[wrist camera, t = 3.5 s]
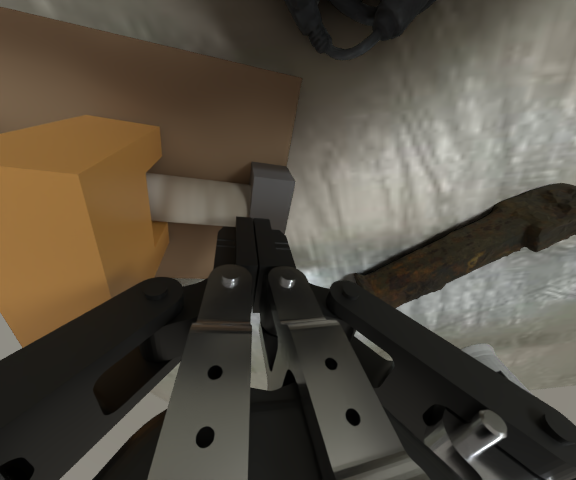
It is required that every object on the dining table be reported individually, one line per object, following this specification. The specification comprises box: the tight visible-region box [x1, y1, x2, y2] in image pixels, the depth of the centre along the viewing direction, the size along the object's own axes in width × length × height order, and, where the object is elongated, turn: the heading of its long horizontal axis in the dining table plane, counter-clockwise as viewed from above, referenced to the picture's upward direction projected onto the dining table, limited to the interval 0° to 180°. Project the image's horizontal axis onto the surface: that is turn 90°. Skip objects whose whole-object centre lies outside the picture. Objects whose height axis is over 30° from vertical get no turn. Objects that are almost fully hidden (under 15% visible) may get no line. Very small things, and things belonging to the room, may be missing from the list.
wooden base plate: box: [0, 7, 302, 279], centre depth 12 cm, size 13×18×4 cm
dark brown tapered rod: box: [354, 183, 576, 308], centre depth 20 cm, size 19×4×5 cm, turn 116°
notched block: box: [0, 115, 169, 348], centre depth 10 cm, size 7×3×7 cm, turn 169°
